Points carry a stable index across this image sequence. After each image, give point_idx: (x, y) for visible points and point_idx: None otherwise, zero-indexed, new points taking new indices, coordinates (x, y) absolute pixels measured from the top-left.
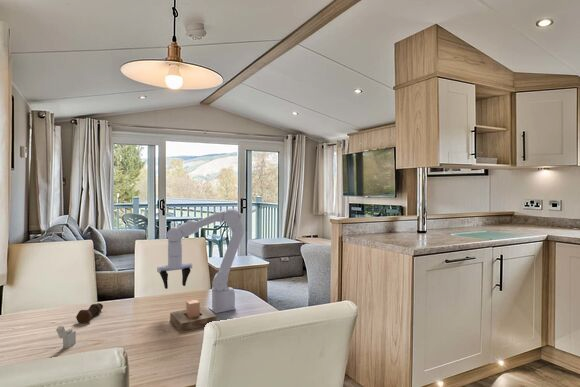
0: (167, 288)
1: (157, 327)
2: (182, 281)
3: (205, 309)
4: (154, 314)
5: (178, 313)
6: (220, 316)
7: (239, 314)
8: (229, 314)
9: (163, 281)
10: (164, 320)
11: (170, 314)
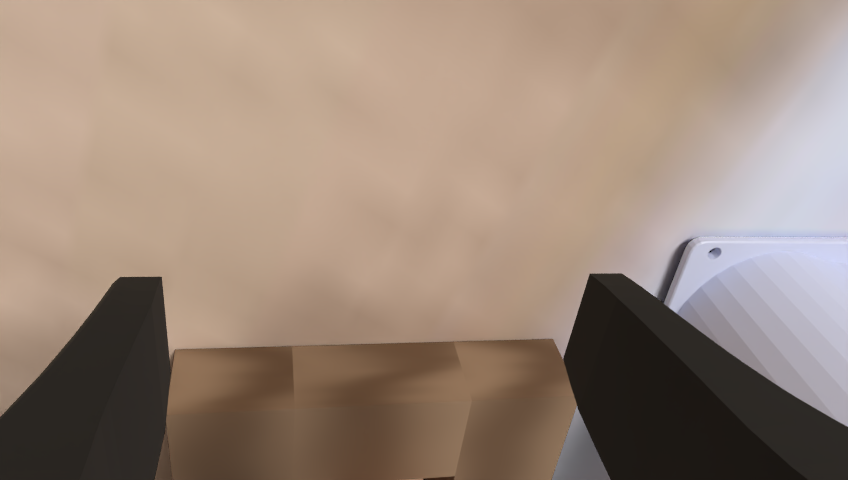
0: (168, 376)
1: None
2: (631, 328)
3: (534, 473)
4: (4, 51)
5: (247, 467)
6: None
7: None
8: None
9: (35, 405)
10: None
11: (168, 408)
